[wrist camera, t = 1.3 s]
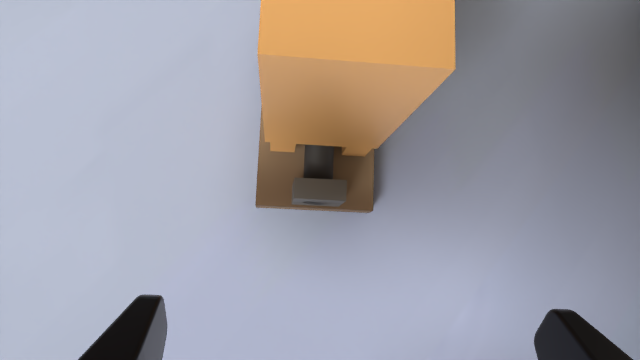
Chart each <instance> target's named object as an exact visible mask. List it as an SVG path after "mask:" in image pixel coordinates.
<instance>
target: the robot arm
mask: <svg viewBox="0 0 640 360" xmlns="http://www.w3.org/2000/svg"><path fill="white" fill-rule="evenodd" d="M166 335H167V319H166V311H165V304H164V299H163V297H162V296H160V295H140V296H138V297H137V298H136V299H135V300H134V301H133V302H132V303H131V304H130V305H129V306H128V307H127V308H126V309H125V310H124V311H123V312H122V314H121V315H120V316H119V317H118V318H117V319H116V320H115V321H114V322H113V323H112V324H111V325H110V326H109V327H108V328H107V329H106V330H105V332H104V333H103V334H102V335H101V336H100V337H99V338H98V339H97V340H96V341H95V342H94V343H93V344H92V345H91V346H90V347H89V349H88V350H87V351H86V352H85V353H84V354H83V355H82V356H81V357H80V358H79V359H78V360H162V357H163V352H164V346H165V341H166ZM534 345H535V350H536V353H537V357H538V360H633V359H632V358H630V357H629V356H628V355H627V354H626V353H624V352H623V351H622V350H621V349H620V348H618V347H617V346H616V345H615V344H613V343H612V342H611V341H610V340H609V339H607V338H606V337H605V336H604V335H603V334H601V333H600V332H599V331H598V330H597V329H595V328H594V327H593V326H592V325H590V324H589V323H588V322H587V321H586V320H584V319H583V318H582V317H581V316H580V315H578V314H577V313H576V312H574V311H572V310H567V309H552V310H550V311H549V312H548V313H547V315H546V316H545V318H544V320H543V321H542V323H541V325H540V327H539V328H538V330H537V332H536V334H535V337H534Z"/></svg>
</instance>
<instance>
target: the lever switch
mask: <svg viewBox="0 0 640 360" xmlns="http://www.w3.org/2000/svg"><path fill="white" fill-rule="evenodd" d="M341 153H342V147H339V146H323V145H306V144H296V147H295V152H278V151H270V142H265V137H264V125H263V113H262V108H261V124H260V141H259V157H258V174H257V190H256V207H258V208H279V209H300V210H321V211H342V212H363V213H369V212H371V211H373V184H374V149H371V150H370V151H369V153H368V154H367V155H366V156H365V157H363V156H346V155H341Z"/></svg>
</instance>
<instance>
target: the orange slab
mask: <svg viewBox="0 0 640 360" xmlns="http://www.w3.org/2000/svg"><path fill="white" fill-rule="evenodd" d="M258 64H259V76H260V88H261V101H262V113H263V125H264V137H265V142H270V151H278V152H295V147H296V144H306V145H323V146H339V147H342V153H341V155H346V156H363V157H365V156H366V155H367V154H368V153H369V151H370V150H371V149H378V148H379V146H380V145H381V144H382V143H383V142H384V141H385V140H386V139H387V138H388V137H389V136H390V135H391V134H392V133H393V132H394V131H395V130H396V129H397V128H398V127H399V126H400V125H401V124H402V123H403V122H404V121H405V120H406V119H407V118H408V117H409V116H410V115H411V114H412V113H413V112H414V111H415V110H416V109H417V108H418V107H419V106H420V105H421V104H422V103H423V102H424V101H425V100H426V99H427V98H428V97H429V96H430V95H431V94H432V93H433V92H434V91H435V90H436V89H437V87H438V86H439V85H440V84H441V83H442V82H443V81H444V80H445V79H446V78H447V77H448V76H449V75H450V74H451V73H452V72H453V71H454V70H455V0H261V9H260V25H259V41H258Z"/></svg>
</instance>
